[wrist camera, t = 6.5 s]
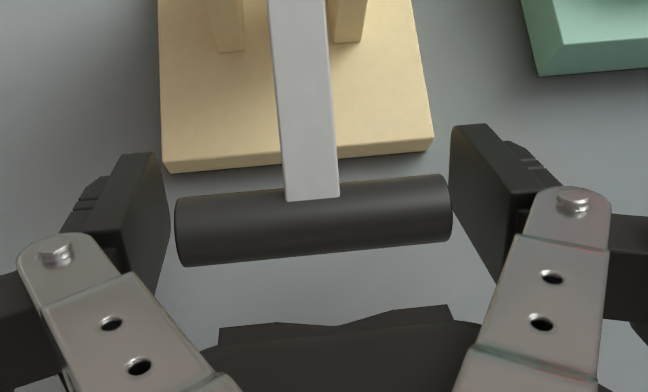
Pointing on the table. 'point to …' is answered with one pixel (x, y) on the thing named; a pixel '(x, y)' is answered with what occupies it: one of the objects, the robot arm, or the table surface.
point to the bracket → (259, 92)
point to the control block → (587, 35)
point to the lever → (309, 174)
